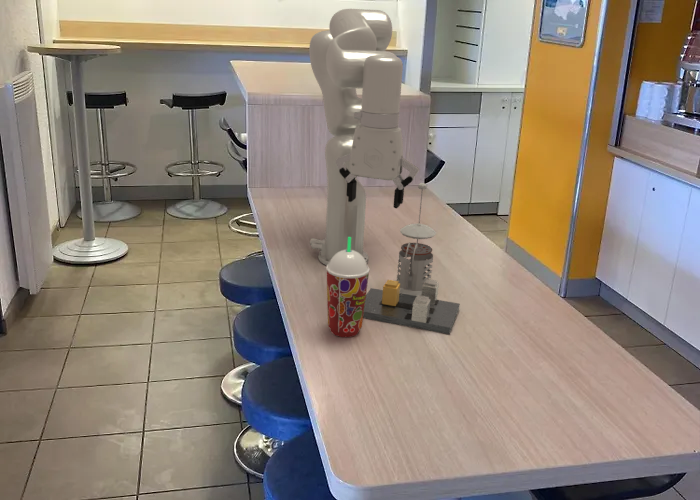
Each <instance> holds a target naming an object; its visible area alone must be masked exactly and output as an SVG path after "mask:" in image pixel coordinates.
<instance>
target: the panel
mask: <svg viewBox="0 0 700 500" xmlns="http://www.w3.org/2000/svg"><path fill="white" fill-rule="evenodd" d="M438 292H439V282H438V280H435V279H431V278H429V279H426V281H425V282H424V284H423V286H422V294H421V296H420V295H417V296H413V295H408V294H402V293H399V301H398V303H397V305H396V306H391V305H386V304H382V295H383V289H380V288H379V289H377V288H373V287H370V289H369V290H368V292H366V299H365V307H364V314H363V319H366V320H372V321H378V322H382V323H388V324H394V325H398V326H403V327H409V328H413V329H414V328H415V329H420V330H425V331H430V332H431V331H432V332H435V333H442V334H447V335H450V334H451V331H452V329H453V326H454V324H455V323H456V322H455V321H456V319H457V316H458V314H459V311H460V307H461V306H460V303H457V302H453V301H446V300H440V299H438V294H439V293H438Z"/></svg>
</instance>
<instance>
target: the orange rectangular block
mask: <svg viewBox="0 0 700 500" xmlns="http://www.w3.org/2000/svg"><path fill="white" fill-rule="evenodd" d="M382 290H383V295H382V304H386V305H391V306H396V305H397V303H398V301H399V293H400V284H399V281H396V280H394V279H393V280H392V279H387V280H386V282H385V284H384V285H383V286H382Z"/></svg>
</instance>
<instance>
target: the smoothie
mask: <svg viewBox="0 0 700 500" xmlns="http://www.w3.org/2000/svg"><path fill="white" fill-rule="evenodd" d="M325 266H326V267H325V268H326V297H327V298H326V301H327V302H326V303H327V305H326V306H327V307H326V309H327V326H328V328H329V330H330V332H331V334H333V335H335V336H337V337H338V338H351V337H354V336H356V335H358V334H359V332H360V330H361V329H362V327H363V320H364V318H363V314H364V307H365V299H366V294H367V293H368V292H367V290H368V284H369V283H368V282H369V277H370V266H369V265H368V263H366V261H365V259H364V257H363V256H362V255H361V254H360V253H358V252H356V251H354V250H351V237H348V246H347V250H342V251H340V252H338V253H336V254H335V255H334V256H333V257H332V259H331V260H330V262H329V264H328V265H325Z"/></svg>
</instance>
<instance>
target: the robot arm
mask: <svg viewBox="0 0 700 500" xmlns="http://www.w3.org/2000/svg"><path fill="white" fill-rule="evenodd" d="M328 25H329V26H328V27H329V29H328V30H321V31H319V32H317V33H316V32H315V33H314V35H312V37H311V38H310V42H309V46H308V49H309V62H310V66H311V71H312V73H313V75H314V77H315V80H316V81H317V84H318V86H319V88H320V90H321V95H322V100H323V108H324V116H325V122H326V126H327V129H328V132H329V133H330V134H331V135H332V136H333V137H331V138H330V139H329V140H328V141H327V142H326V144H325V148H324V150H325V151H324V158H325V166H326V176H327V179H326V180H327V181H326V182H327V183H326V184H327V186H326V187H327V188H326V189H327V192H326V193H327V195H326V217H325V218H326V220H325V221H326V222H325V224H326V225H325V238H323V239H318V238H310V241H309V244H310V246H311V248H310V249H312V250H319V251H320V252H319V253H318V261H319V262H320V263H322V265H325V266H327V265H328V264H329V262H330V260H331V259H332V257H333V256H334V255H335V254H336V253H338V252H340V251H342V250H347V246H348V237H351V250H354V251H356V252H358V253H360V254H361V255H362V256H363V257H364V259H365V261H366V263H367V264H368V263H369V259H370V258H369V257H370V256H369V254H368V253H367V252H365V250H364V239H365V238H364V236H365V223H366V221H365V220H366V208H367V207H366V206H367V205H366V204H367V193H366V189H365V187H364V186H363V184H362V183H361V182H360V181H359V180H358V178H357V177H359V178H367V179H374V180H383V181H392V183H394V185H395V186H396V187H395V189H394V195H393V208H394V209H398V208H399V207H400V206H401V205H402V204H403V202H404V196H405V195H404V194H405V188H406V187H407V186H408V185H410V184H411V183H412V182H413V181H414V179H415V178H416V176H417V175H418V173H419V172H420V168H419V167H417V166H416V165H415V164H413V163H412V162H410V160H408V159H406V158H404V147H403V146H404V145H403V141H404V140H403V133H402V128H401V127H399V123H400V122H399V121H400V109H401V93H402V83H403V71H404V69H403V68H404V67H403V65H404V64H403V60H402V59H401V58H400V57H397V55H396V54H395V53H393V52H390V51H387V48H388V47H389V45H390V43H391V40H392V36H393V24H392V20H391V18H390V17H389V15H388V14H387V13H386V12H385V11H384V10H379V9H363V8H361V9H360V8H359V9H358V8H344V9H341V10H338V11H337V12H335V13H334V14H333V15H332V16H331V18H330V21H329V24H328ZM357 89H361V90H362V91H361V93H362V94H361V97H358V95H357ZM403 168H404V169H406V170H407V171H408V172H409V173H408V175H407V177H406V178H404V177H403V176H402V172H403Z"/></svg>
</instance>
